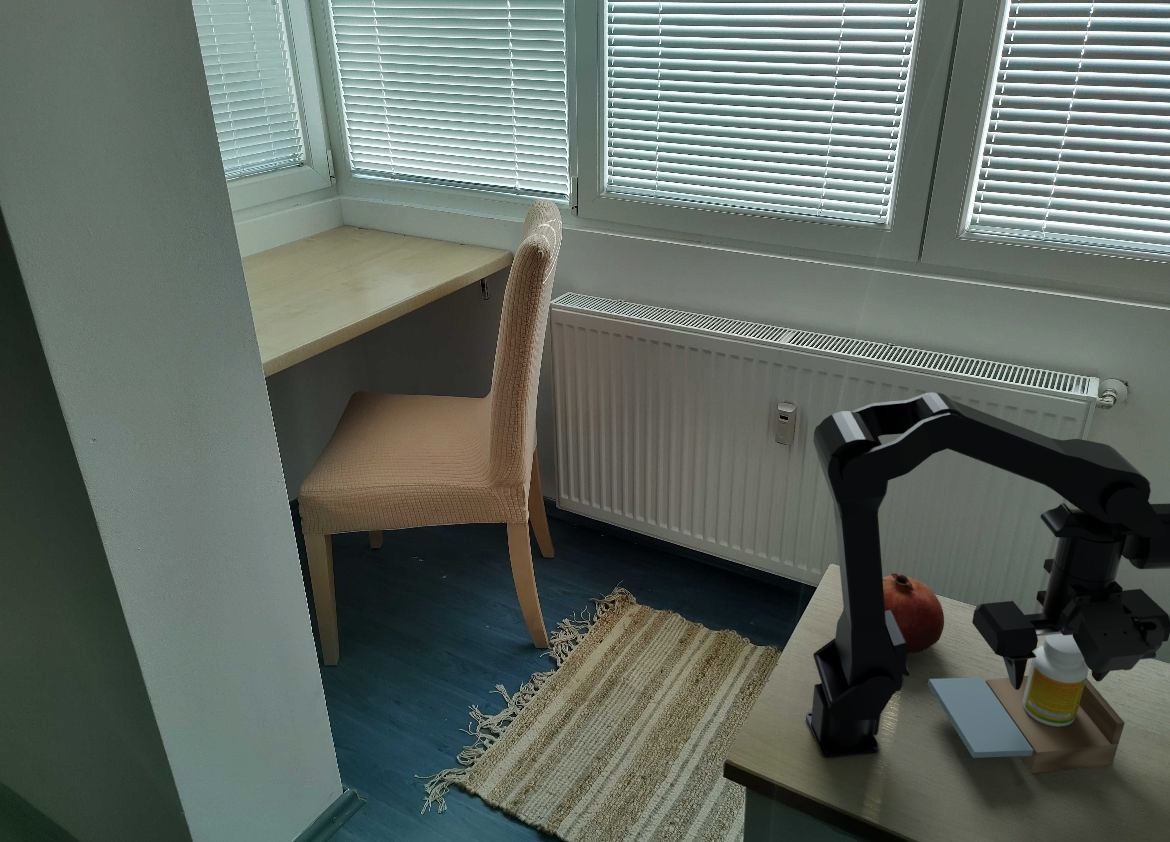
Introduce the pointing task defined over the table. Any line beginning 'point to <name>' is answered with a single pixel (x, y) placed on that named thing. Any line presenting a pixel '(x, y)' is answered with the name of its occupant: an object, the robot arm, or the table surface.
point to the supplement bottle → (1055, 681)
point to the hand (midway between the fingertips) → (1055, 683)
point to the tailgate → (979, 718)
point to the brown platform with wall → (1064, 730)
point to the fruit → (914, 611)
